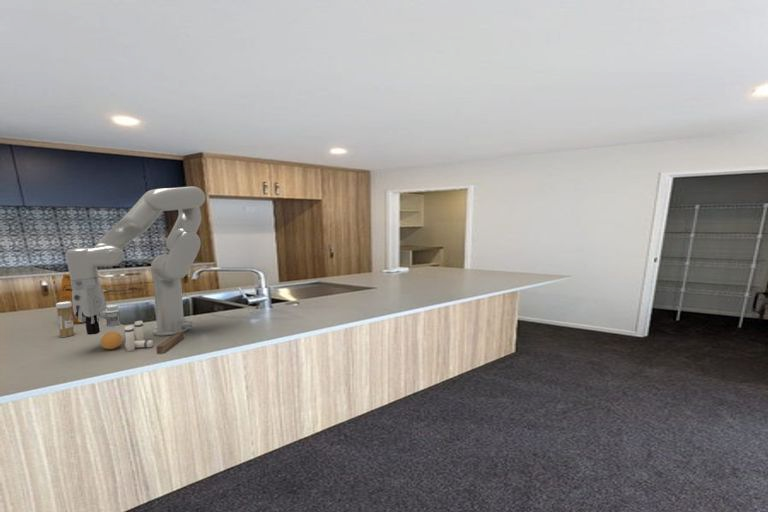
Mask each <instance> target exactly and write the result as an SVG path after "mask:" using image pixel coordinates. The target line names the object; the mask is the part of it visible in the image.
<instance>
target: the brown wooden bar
mask: <svg viewBox="0 0 768 512" xmlns="http://www.w3.org/2000/svg"><path fill="white" fill-rule="evenodd" d="M182 340H184V332H177V333H176V334H173V335H170V337H168V338H167V339H165V340H163V341H162V342H160V343H159V344H158V345H156V353H157V354H164V353H166V352H167V351H169V350H170V349H171V348H172V347H174V346H175V345H176V344H178V343H179V342H181V341H182Z"/></svg>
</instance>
